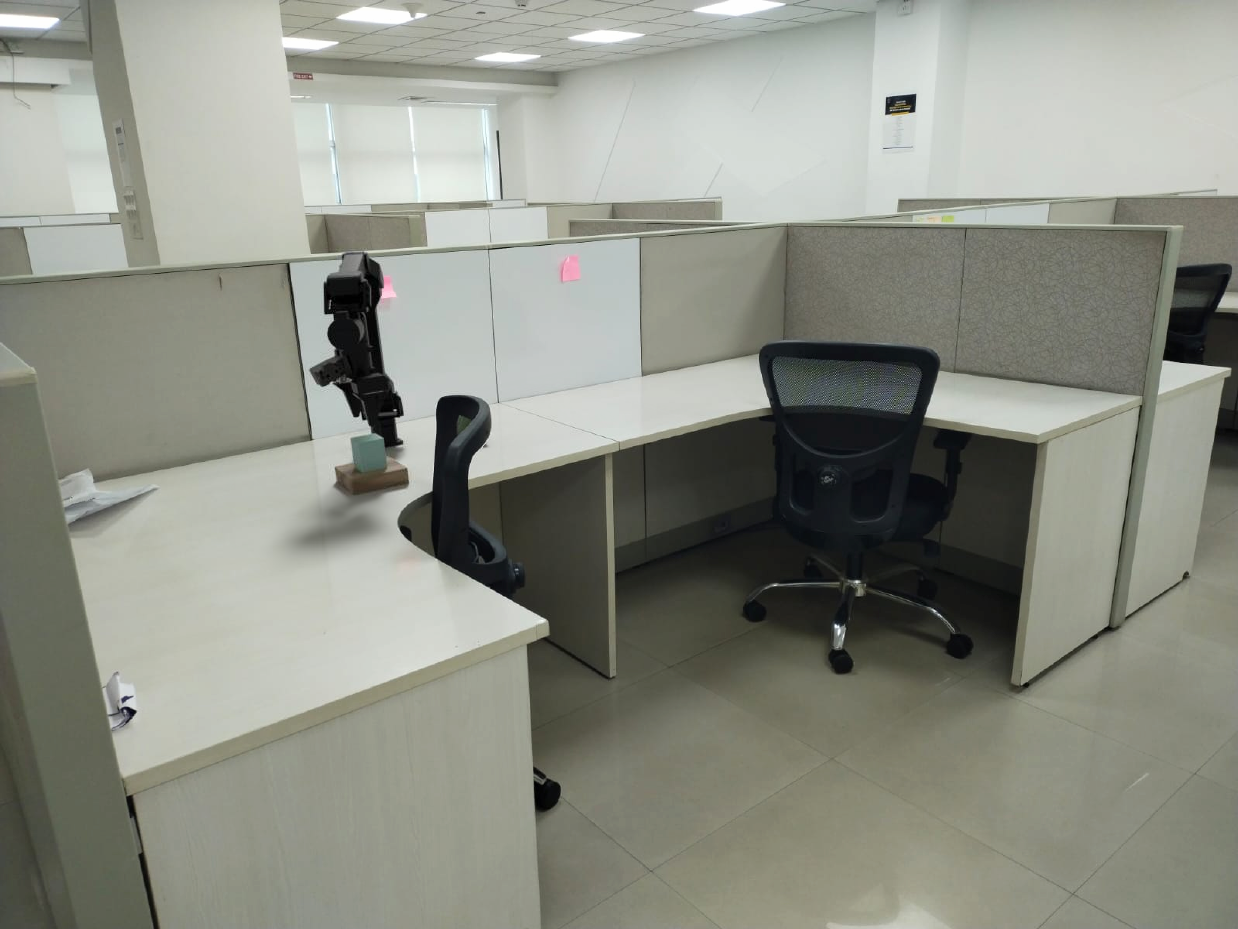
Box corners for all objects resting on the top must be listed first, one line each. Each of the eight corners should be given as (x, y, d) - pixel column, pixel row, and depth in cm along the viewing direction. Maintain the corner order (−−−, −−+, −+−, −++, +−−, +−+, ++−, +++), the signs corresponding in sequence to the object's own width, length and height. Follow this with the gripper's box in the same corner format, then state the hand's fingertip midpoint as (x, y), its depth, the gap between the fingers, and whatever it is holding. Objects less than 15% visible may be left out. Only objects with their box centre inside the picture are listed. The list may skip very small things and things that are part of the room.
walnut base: (336, 480, 176) (334, 466, 175) (389, 469, 182) (387, 455, 181) (354, 494, 168) (352, 479, 167) (409, 482, 173) (407, 468, 172)
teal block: (354, 466, 175) (350, 437, 173) (378, 461, 177) (375, 433, 175) (362, 472, 171) (358, 443, 169) (387, 467, 173) (383, 438, 171)
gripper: (296, 341, 170) (308, 419, 174) (325, 353, 155) (337, 438, 159) (353, 334, 176) (363, 410, 180) (386, 345, 161) (396, 427, 165)
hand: (364, 421), depth 171 cm, fingers open, 9 cm apart
